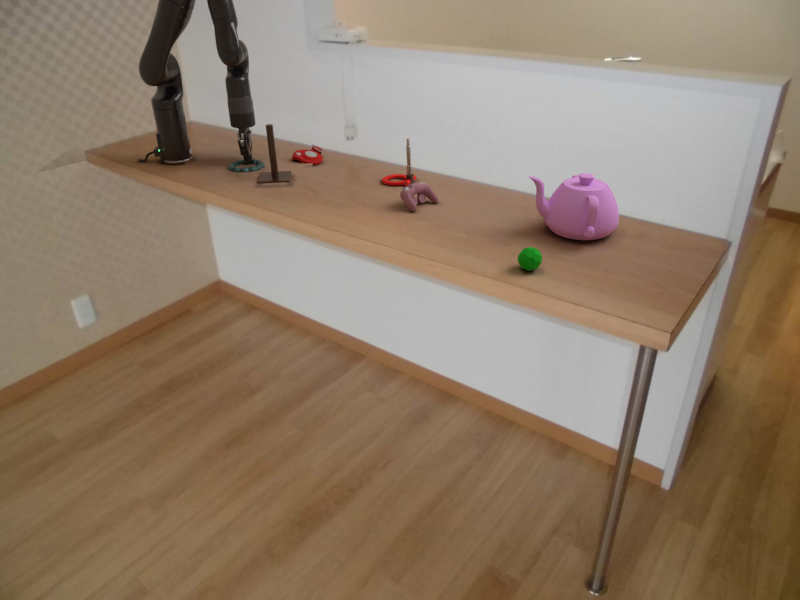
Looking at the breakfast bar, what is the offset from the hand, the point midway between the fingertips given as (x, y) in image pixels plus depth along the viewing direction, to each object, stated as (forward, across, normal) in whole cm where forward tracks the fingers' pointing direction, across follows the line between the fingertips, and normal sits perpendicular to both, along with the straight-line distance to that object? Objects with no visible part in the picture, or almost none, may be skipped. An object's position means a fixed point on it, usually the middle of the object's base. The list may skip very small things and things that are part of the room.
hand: (248, 165), depth 196 cm
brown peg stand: (0, +16, +10) cm, 19 cm away
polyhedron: (0, +81, +69) cm, 107 cm away
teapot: (0, +62, +84) cm, 105 cm away
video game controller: (0, +41, +50) cm, 65 cm away
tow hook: (0, +21, +46) cm, 51 cm away
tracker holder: (0, -3, +20) cm, 20 cm away
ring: (-1, +4, 0) cm, 4 cm away
